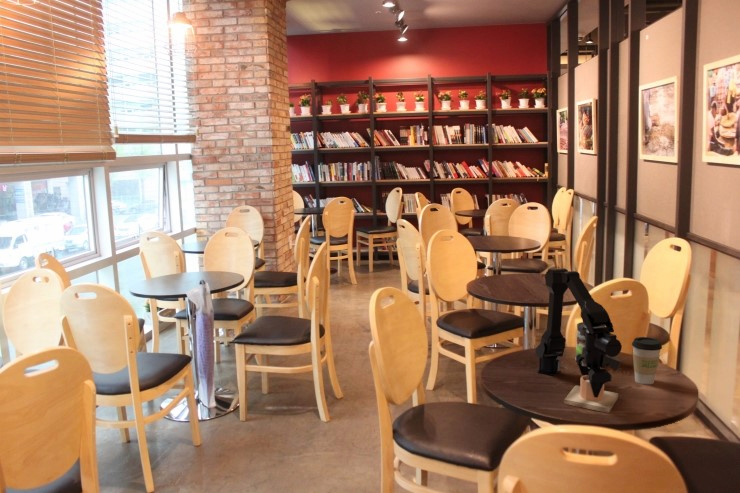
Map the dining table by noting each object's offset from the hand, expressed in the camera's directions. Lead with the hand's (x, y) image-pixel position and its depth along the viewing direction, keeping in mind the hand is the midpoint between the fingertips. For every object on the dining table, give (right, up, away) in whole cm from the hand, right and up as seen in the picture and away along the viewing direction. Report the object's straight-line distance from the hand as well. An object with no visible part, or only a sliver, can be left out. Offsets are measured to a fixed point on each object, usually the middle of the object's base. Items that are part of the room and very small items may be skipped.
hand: (591, 392), depth 212 cm
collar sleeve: (0, -1, 0) cm, 2 cm away
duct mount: (0, -3, 0) cm, 3 cm away
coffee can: (+12, +3, +38) cm, 40 cm away
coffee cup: (+24, 0, +17) cm, 30 cm away
